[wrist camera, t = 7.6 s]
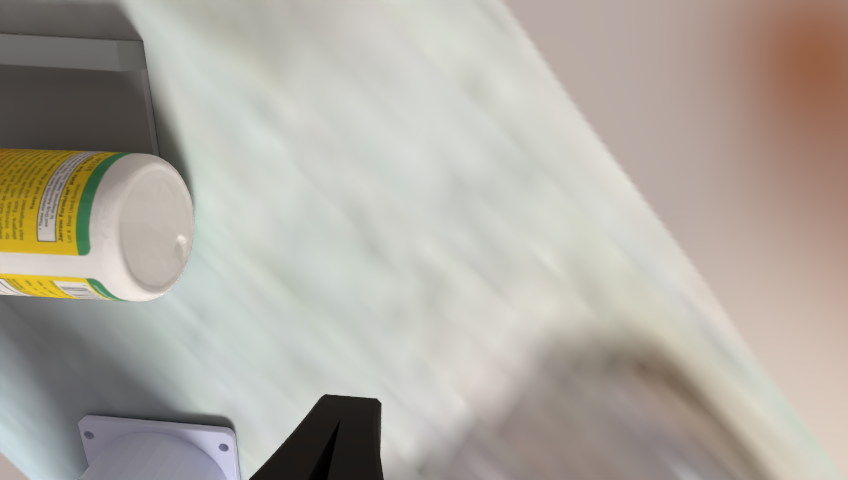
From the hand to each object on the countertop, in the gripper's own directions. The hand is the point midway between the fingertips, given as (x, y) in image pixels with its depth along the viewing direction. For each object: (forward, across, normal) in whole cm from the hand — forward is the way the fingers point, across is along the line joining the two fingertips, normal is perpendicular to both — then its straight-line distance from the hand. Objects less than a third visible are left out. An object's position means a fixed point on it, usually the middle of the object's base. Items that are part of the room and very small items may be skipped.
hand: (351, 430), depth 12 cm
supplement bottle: (+7, +8, -2) cm, 11 cm away
